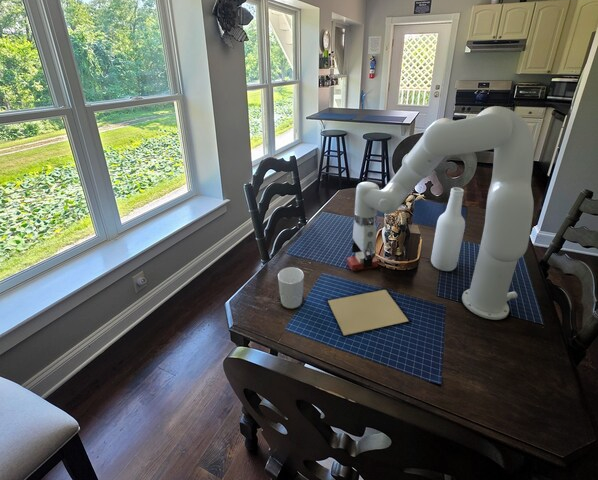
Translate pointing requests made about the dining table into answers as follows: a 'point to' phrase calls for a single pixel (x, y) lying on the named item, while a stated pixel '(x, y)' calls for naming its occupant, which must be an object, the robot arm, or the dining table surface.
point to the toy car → (360, 261)
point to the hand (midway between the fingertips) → (361, 259)
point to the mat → (366, 312)
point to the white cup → (291, 287)
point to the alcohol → (449, 233)
